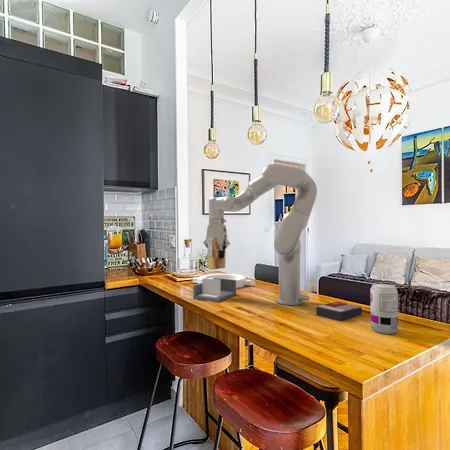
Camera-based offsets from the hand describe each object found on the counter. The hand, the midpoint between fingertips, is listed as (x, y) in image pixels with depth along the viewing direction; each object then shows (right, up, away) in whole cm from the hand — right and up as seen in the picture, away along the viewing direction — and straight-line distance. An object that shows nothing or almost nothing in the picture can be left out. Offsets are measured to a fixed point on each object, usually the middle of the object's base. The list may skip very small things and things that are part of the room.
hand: (216, 257), depth 161 cm
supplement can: (+57, -19, -54) cm, 81 cm away
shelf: (-1, -19, -2) cm, 19 cm away
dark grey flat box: (+49, -19, -34) cm, 63 cm away
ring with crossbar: (+2, -20, +30) cm, 36 cm away
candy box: (0, -6, 0) cm, 6 cm away
